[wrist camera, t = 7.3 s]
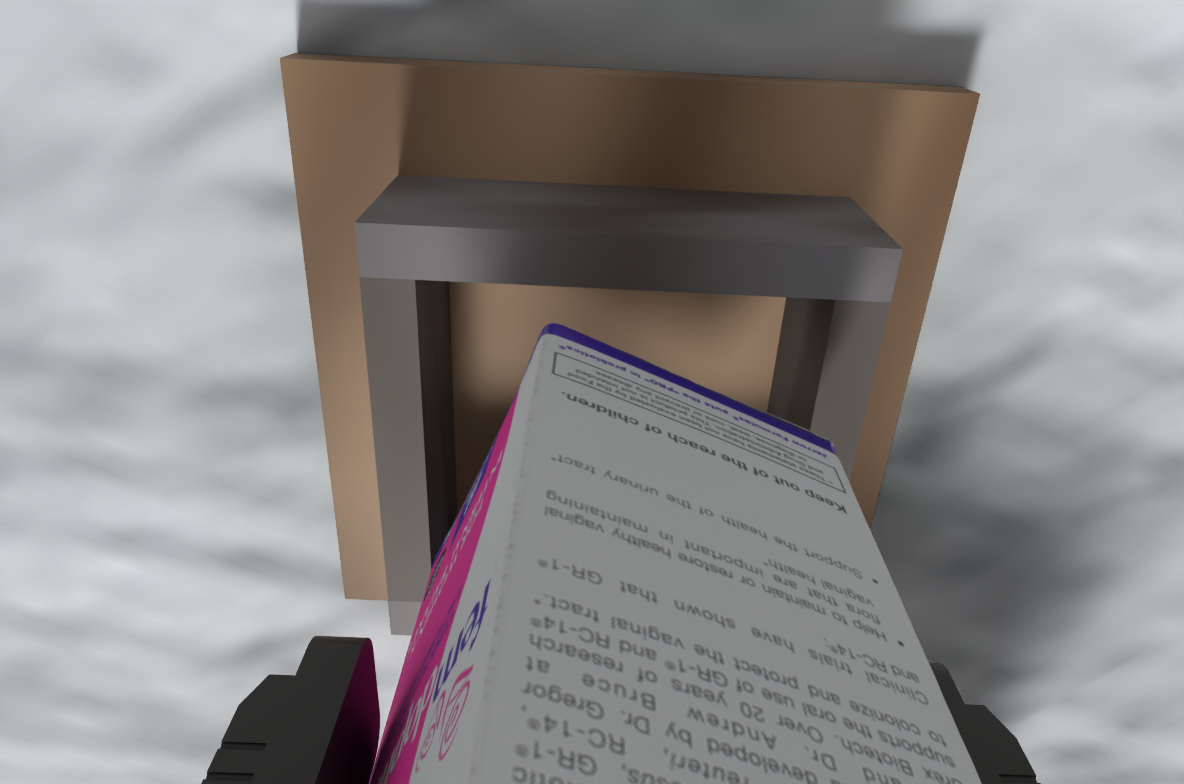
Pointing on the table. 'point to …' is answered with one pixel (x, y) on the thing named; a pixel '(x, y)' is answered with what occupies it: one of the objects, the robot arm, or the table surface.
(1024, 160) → the table surface
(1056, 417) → the table surface
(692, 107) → the square holder
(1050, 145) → the table surface
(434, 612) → the supplement box
